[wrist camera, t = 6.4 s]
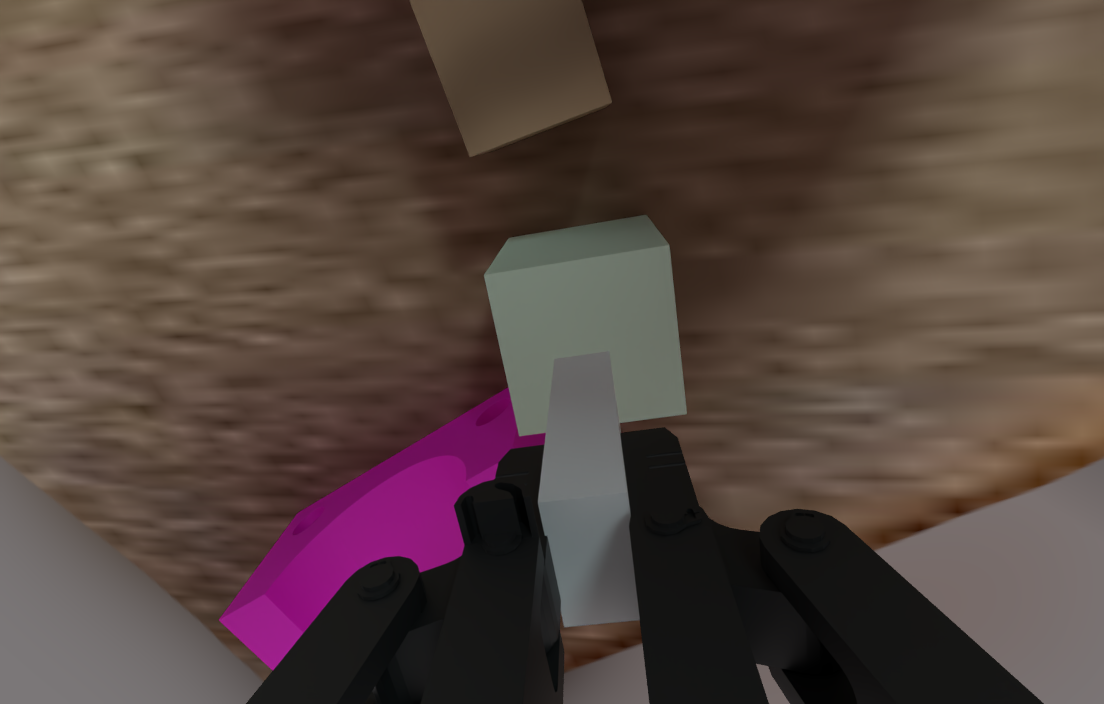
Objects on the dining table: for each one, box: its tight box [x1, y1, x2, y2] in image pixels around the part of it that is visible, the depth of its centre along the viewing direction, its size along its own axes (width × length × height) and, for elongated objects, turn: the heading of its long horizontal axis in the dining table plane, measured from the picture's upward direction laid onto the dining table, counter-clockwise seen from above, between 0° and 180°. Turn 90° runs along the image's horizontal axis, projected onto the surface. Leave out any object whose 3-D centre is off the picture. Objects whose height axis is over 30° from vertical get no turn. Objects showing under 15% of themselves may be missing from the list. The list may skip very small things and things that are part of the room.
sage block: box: [484, 215, 687, 436], centre depth 23 cm, size 6×6×7 cm
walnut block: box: [409, 0, 612, 157], centre depth 21 cm, size 5×5×5 cm
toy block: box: [219, 388, 546, 670], centre depth 27 cm, size 15×6×8 cm, turn 124°
